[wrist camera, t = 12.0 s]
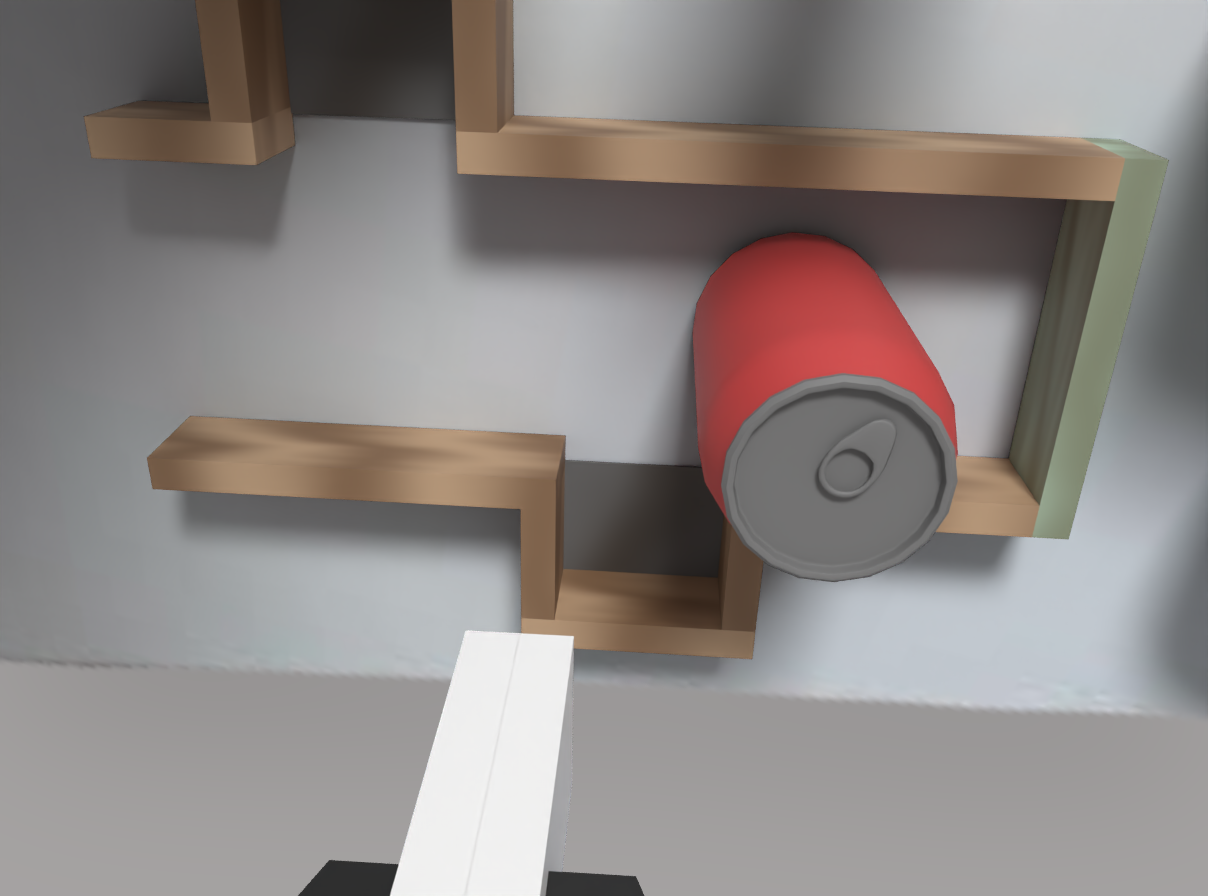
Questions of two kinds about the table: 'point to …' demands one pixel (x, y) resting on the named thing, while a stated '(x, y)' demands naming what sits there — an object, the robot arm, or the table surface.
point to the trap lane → (630, 153)
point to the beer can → (819, 411)
